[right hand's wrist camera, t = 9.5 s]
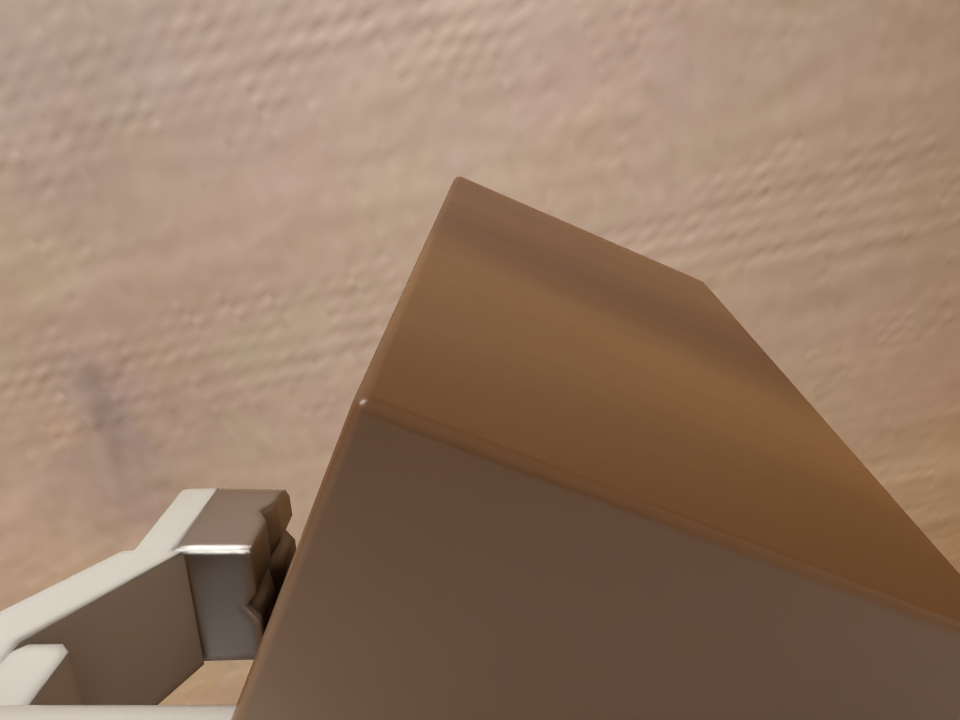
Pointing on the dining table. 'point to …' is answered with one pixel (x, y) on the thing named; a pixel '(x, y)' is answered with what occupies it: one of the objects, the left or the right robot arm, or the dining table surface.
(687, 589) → the bar
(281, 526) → the right robot arm
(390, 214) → the dining table surface
